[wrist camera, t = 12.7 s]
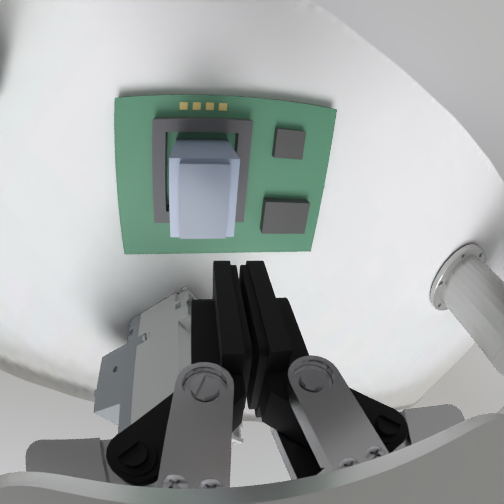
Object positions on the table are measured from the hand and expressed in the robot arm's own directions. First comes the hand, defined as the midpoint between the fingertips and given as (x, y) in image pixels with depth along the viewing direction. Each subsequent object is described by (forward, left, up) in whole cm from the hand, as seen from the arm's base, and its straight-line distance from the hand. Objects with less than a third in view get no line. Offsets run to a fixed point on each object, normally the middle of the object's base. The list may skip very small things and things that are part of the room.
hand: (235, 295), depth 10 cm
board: (-1, +1, -17) cm, 17 cm away
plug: (+1, 0, -15) cm, 15 cm away
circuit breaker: (+6, +20, -17) cm, 27 cm away
